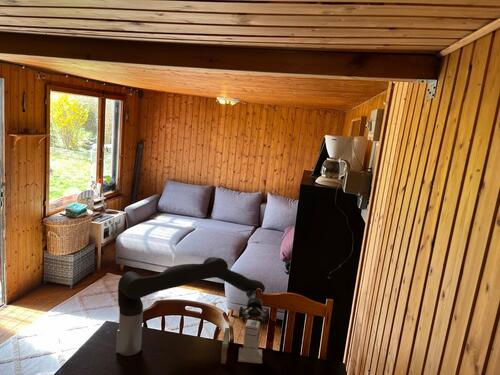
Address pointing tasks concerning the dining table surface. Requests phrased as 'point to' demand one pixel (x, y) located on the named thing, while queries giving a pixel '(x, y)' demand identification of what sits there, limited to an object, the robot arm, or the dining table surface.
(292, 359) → the dining table surface
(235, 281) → the robot arm
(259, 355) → the grey mat
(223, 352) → the birch posts
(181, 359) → the dining table surface
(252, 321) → the syrup box
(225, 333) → the wooden bar
